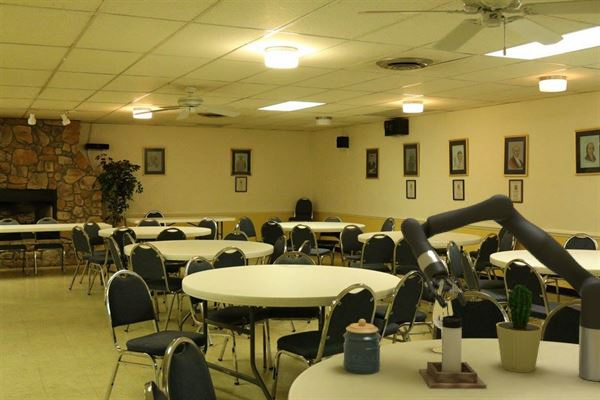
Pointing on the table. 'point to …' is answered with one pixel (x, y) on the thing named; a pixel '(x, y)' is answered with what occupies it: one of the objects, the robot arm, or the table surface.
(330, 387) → the table surface
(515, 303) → the potted cactus
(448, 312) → the wineglass
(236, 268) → the table surface
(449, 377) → the square wooden tray
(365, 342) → the canister
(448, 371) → the travel mug
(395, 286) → the table surface
